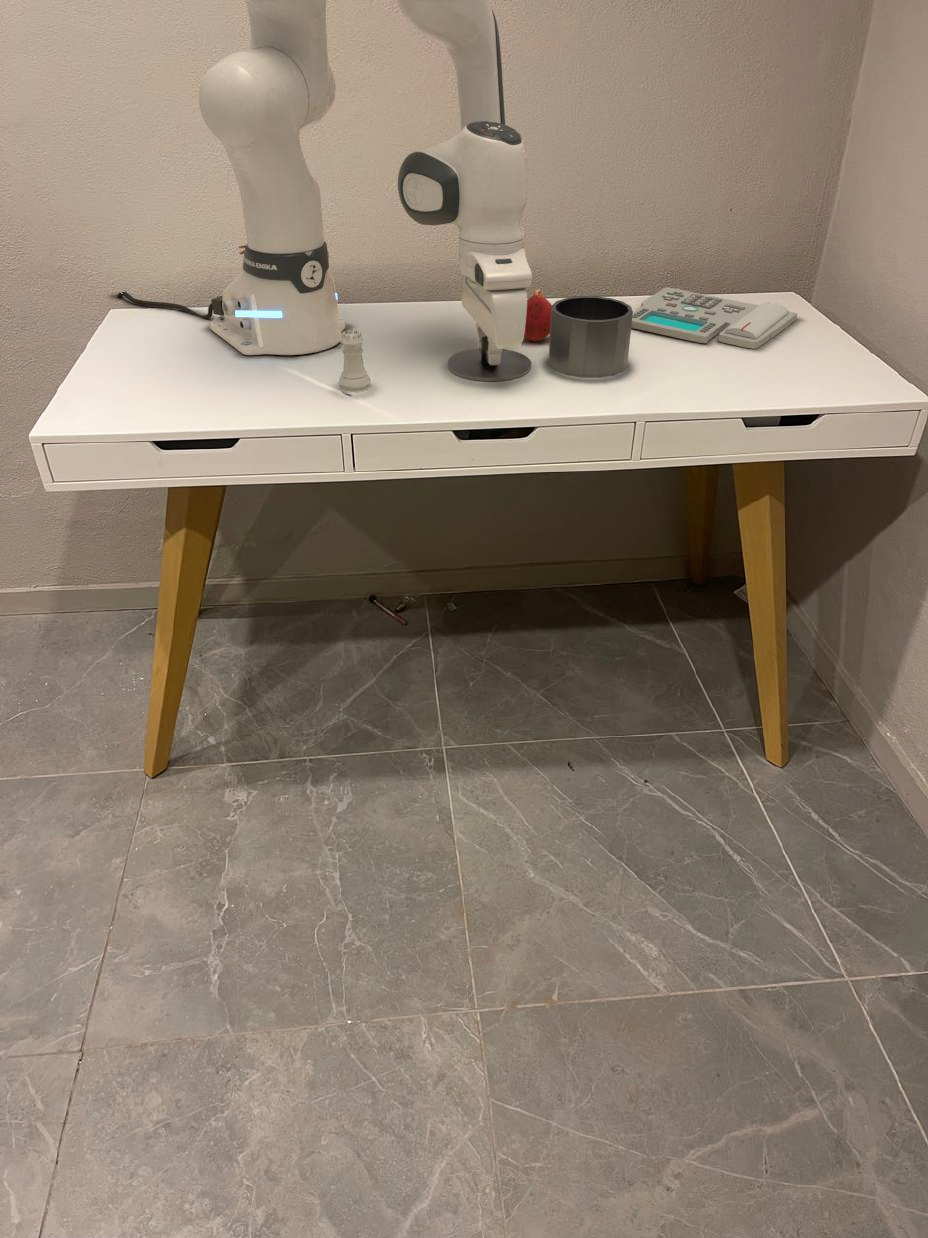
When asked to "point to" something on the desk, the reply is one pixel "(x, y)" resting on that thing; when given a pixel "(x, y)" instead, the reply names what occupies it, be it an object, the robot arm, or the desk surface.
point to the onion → (537, 317)
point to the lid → (478, 368)
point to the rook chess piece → (353, 364)
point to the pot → (589, 336)
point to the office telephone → (711, 318)
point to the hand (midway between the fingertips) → (489, 358)
